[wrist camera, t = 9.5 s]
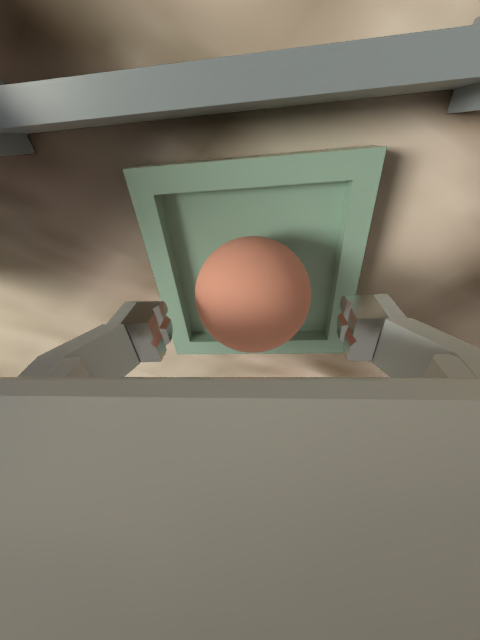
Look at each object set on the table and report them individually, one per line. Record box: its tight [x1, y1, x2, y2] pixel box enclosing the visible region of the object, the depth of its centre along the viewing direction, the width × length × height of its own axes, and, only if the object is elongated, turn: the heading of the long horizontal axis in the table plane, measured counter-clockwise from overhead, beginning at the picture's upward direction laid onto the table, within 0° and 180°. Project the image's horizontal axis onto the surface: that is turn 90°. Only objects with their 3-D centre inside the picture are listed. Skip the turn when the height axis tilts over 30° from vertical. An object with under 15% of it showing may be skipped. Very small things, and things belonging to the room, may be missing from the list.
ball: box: [195, 236, 311, 353], centre depth 11 cm, size 5×5×5 cm
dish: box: [122, 145, 387, 354], centre depth 13 cm, size 10×10×2 cm
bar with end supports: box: [0, 17, 480, 156], centre depth 9 cm, size 2×19×3 cm, turn 94°
